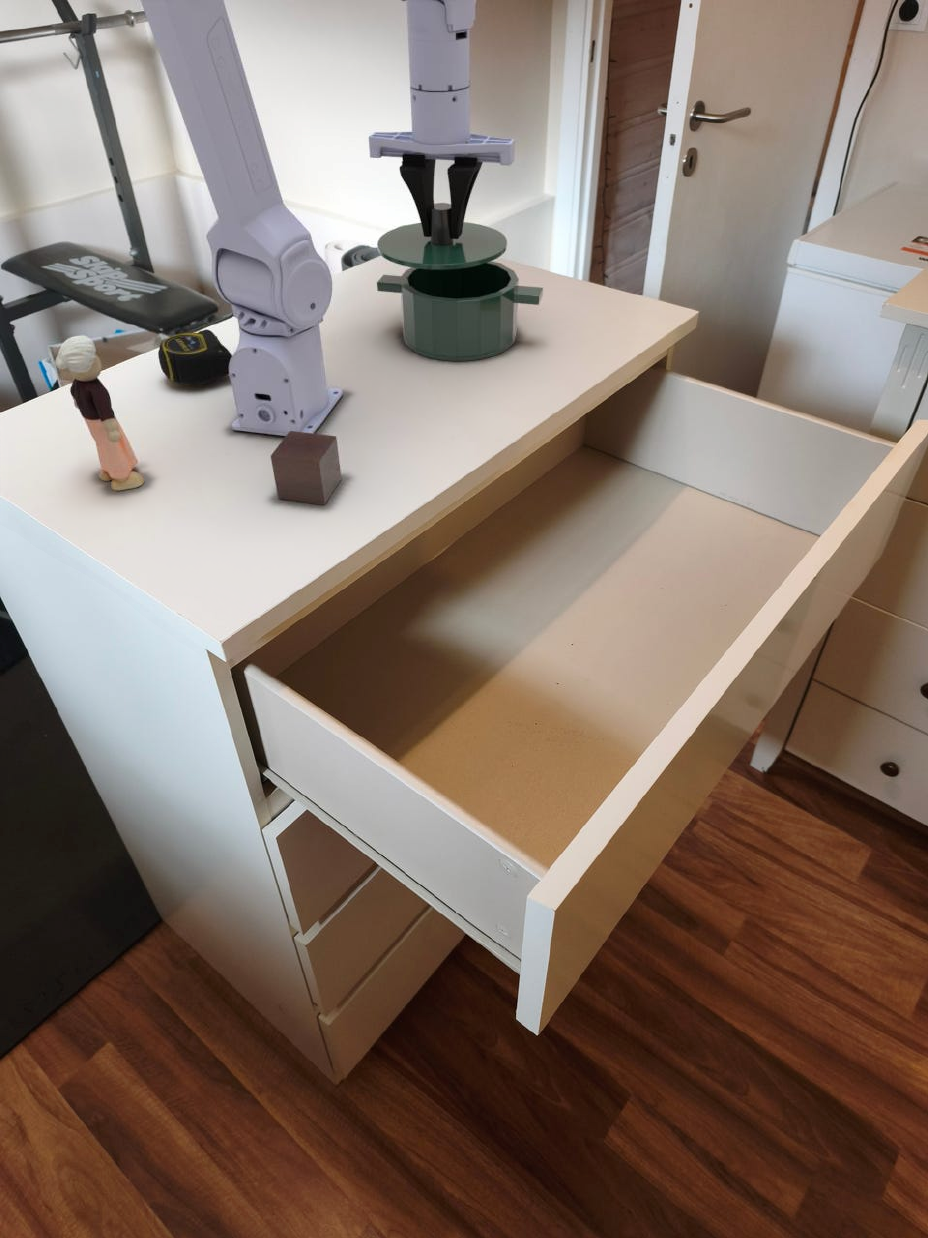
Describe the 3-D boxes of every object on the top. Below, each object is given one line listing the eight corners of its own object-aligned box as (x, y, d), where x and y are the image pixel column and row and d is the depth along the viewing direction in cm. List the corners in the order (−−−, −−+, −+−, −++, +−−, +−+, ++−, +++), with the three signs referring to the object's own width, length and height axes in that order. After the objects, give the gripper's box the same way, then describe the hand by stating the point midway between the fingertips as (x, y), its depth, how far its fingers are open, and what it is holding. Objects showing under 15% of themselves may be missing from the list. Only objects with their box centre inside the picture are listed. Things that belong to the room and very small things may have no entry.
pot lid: (492, 280, 85) (493, 231, 82) (360, 270, 87) (356, 222, 84) (517, 235, 95) (518, 190, 92) (398, 227, 97) (396, 183, 94)
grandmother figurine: (164, 480, 74) (124, 340, 66) (127, 500, 72) (80, 358, 63) (111, 453, 78) (67, 316, 69) (74, 471, 75) (23, 332, 67)
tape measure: (240, 382, 88) (233, 347, 85) (173, 397, 85) (164, 362, 83) (221, 357, 92) (214, 323, 90) (157, 370, 90) (148, 336, 87)
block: (324, 505, 71) (318, 461, 68) (277, 498, 72) (269, 455, 69) (341, 478, 74) (336, 435, 71) (296, 472, 75) (289, 430, 72)
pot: (528, 368, 90) (530, 307, 85) (366, 352, 93) (360, 293, 89) (547, 321, 99) (551, 264, 94) (399, 308, 102) (396, 252, 98)
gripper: (522, 80, 83) (517, 227, 92) (380, 75, 85) (389, 218, 94) (507, 95, 78) (504, 249, 87) (357, 89, 80) (369, 239, 89)
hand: (443, 234), depth 90 cm, fingers closed on pot lid, 2 cm apart
